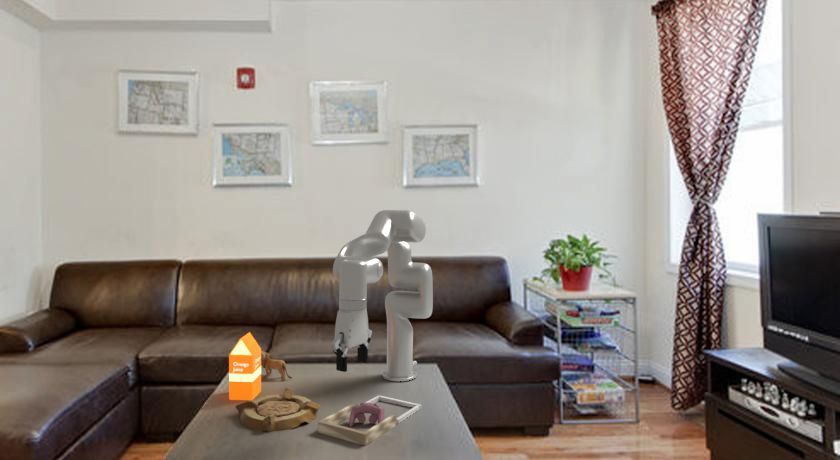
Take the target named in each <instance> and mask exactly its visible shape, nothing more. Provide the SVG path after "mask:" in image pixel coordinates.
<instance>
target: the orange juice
mask: <svg viewBox="0 0 840 460" xmlns="http://www.w3.org/2000/svg"><path fill="white" fill-rule="evenodd" d="M261 351H262V348H261V346H260V345H259V344H258V342H257V340H256V339H255V338H254V336H253V334H252V333H251V332H250V331H249V332H248V333H246V334H245V335H243V336H242V337H240V339H239V340H238V341H237V343H236V344H235V346H234V347H233V349H232V350H231V352H230V353H229V355H228V371H229V373H228V383H229V384H228V386H229V387H228V393H229V394H228V397H229V398H228V400H230V401H249V400H252V401H254V400H255V398H257V396H258V395H259V394H260V393H261V392H262V365H261Z"/></svg>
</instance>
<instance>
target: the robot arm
mask: <svg viewBox="0 0 840 460" xmlns="http://www.w3.org/2000/svg"><path fill="white" fill-rule="evenodd" d="M426 233H427V232H426V223H425V221H424V220H423V218H421V217H420V215H418V214H417V213H415V212H414V211H412V210H408V209H407V210H405V209H401V210H400V209H398V210H397V209H395V210H394V209H385V210H380V211H378V212H377V213H376V214H375V215H374V216H373V219H372V221H371V222H370V224H369V226H368V227H367V230H366V231H365V233H364V234H362V235H360V236H357V237H356V238H354V239H352V240H350V241H349V242H347V243H346V244H344V245H343V246H342V247H341V249H340V250H339V252H338V254H337V255H336V257H335V260H334V262H333V267H332V273H333V277H334V278H335V279H336V281H338V282H339V287H338V288H339V291H338V293H339V297H338V299H339V300H338V304H339V305H338V307H339V309H338V310H337V314H336V320H335V326H334V327H335V328H334V339H333V340H332V341H331V344H330V346H331V348H332V352H333V353H334V356H335V358H336V359H335V361H336V362H335V363H336V364H335V367H336V368H335V370H336V371H338V372H343V373H346V372H347V371H348V357H347V353H348V351H349V350H350V349H352V348H356V347H357V359H356V360H357V362H358V363H362V364H367V363H368V361H369V357H368V356H369V348H370V342H371V340H372V339H371V337H372V334H373V330H371V329H370V328H369V316H368V311H367V309H368V308H367V307H368V304H367V303H368V299H367V297H368V296H367V295H368V294H367V293H368V284H375V283H377V282H378V281H381V280H380V279H381V278H382V277H383V274H384V265H383V262H382V261H381V260H380V259H378V258H376V256H379V255H382V254H384V253H385V252H387V275H388V283H389V285H390V286H391V287H393V288H397V289H408V290H409V289H410V290H417V291H410V290H409V291H408V290H393V291H390V292H388V293H387V294H386V296H385V299H384V307H385V314H386V369H385V370H384V371H383V372H382V378H383V379H384V380H387V381H389V382H399V383H400V381H401V382H409V380H410V381H413V380H414V378H415V379H416V378H417V377H416V376H417V374H418V373H417V372H416V371H415V370H414V367H416V366H417V365H418V362H417V360H414V358H413V356H414V354H413V353H414V347H413V346H414V345H413V344H414V329H413V326H412V324H411V322H410V320H409V319H410V318H411V319H421V320H422V319H428V318H430V317H431V316H432V314H433V309H434V293H433V292H434V290H433V287H434V285H433V282H434V281H433V271H432V267H431V266H430V265H429V264H427V263H425V262H413V261H412V248H411V245H410V243H420V242H422V241H423V240H424V238H425V236H426ZM342 349H343V350H342ZM412 379H413V380H412Z"/></svg>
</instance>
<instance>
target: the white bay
mask: <svg viewBox="0 0 840 460" xmlns="http://www.w3.org/2000/svg"><path fill="white" fill-rule="evenodd" d="M380 401H381V402H384V403H389V404H394V405H397V404H398V405H397V406H403V407H406V406H407V408H410V407H412V408H410V409H409V410H407V411H406V412H404V413H403V414H401V415H400V416H398V417H396V424H401V423H403V422H404V421H405V420H407V419H408V418H409V416H410V415H411V416H413V415H414V414H415V412H416V411H417V412H418V410H419V409H420V408H421V409H422V404H420V403H415V402H410V401H406V400H402V399H396V398H393V397H388V396H384V395H380V394H378V395H377V396H374V397H372V398H371V399H369V400H367V401H365V402H364V403H374V404H377V402H380ZM421 409H420V410H421ZM420 410H419V411H420ZM417 412H416V413H417ZM413 413H414V414H413ZM412 414H413V415H412ZM411 416H410V417H411ZM407 417H408V418H407ZM406 418H407V419H406ZM403 420H404V421H403ZM400 422H401V423H400Z"/></svg>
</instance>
